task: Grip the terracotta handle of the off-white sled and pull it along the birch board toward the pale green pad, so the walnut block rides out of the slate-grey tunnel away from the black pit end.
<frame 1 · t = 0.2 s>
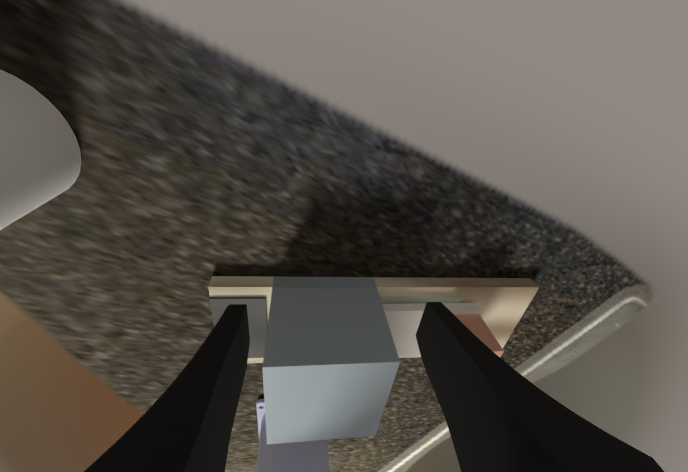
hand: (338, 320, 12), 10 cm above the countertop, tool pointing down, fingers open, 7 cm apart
tunnel: (321, 316, 26), resting on board
cylindrical container: (5, 136, 16), on the countertop
board: (376, 315, 27), on the countertop
sled: (381, 355, 23), point 4 cm above the countertop, slide at 0.0 cm
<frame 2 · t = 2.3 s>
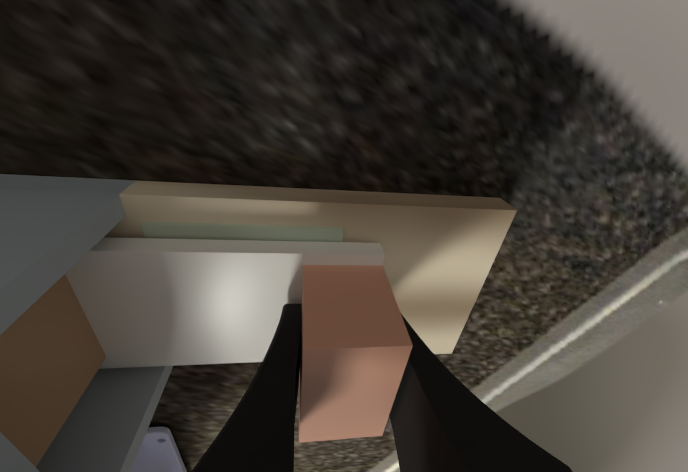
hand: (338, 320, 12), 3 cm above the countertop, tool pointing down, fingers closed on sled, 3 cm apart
tunnel: (60, 277, 12), resting on board
board: (187, 277, 13), on the countertop
sled: (129, 359, 10), point 4 cm above the countertop, slide at 0.0 cm, touching gripper
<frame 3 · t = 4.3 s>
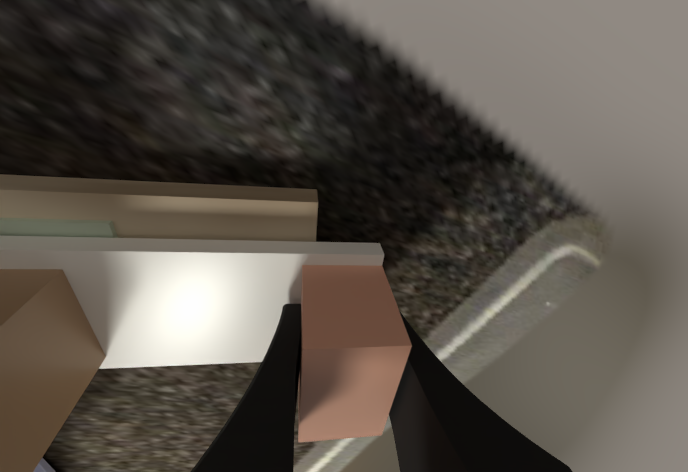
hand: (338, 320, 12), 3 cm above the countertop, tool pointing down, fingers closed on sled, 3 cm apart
sled: (129, 359, 10), point 4 cm above the countertop, slide at 8.0 cm, touching gripper
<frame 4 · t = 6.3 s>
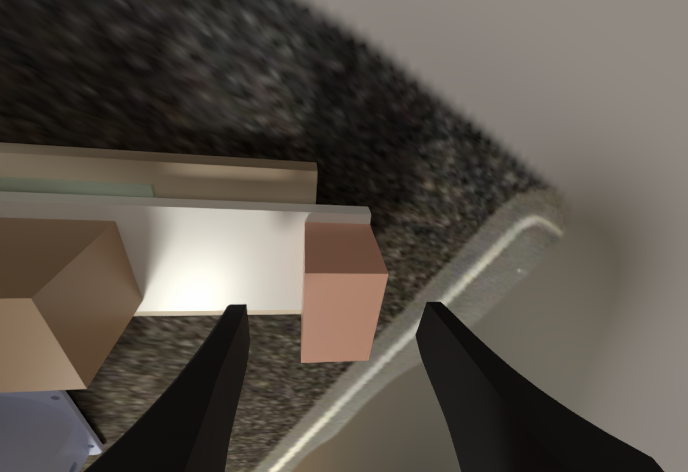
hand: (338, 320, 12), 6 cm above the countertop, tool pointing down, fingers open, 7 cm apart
board: (36, 234, 15), on the countertop
sled: (168, 292, 12), point 4 cm above the countertop, slide at 8.0 cm
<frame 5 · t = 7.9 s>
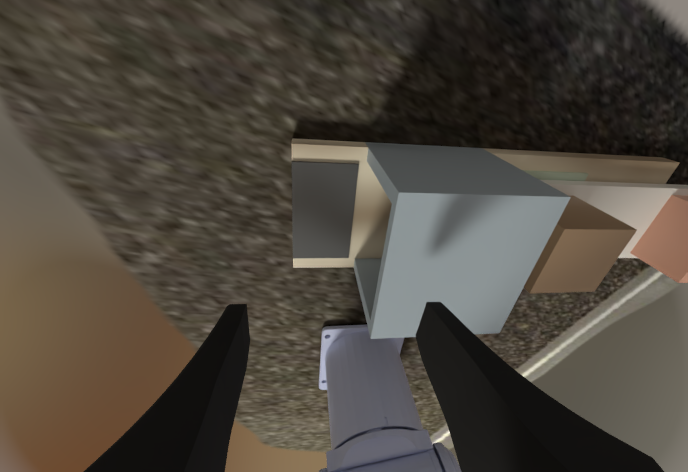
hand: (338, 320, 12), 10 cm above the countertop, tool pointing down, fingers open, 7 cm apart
tunnel: (411, 207, 22), resting on board
board: (474, 208, 22), on the countertop
sled: (608, 238, 20), point 4 cm above the countertop, slide at 8.0 cm
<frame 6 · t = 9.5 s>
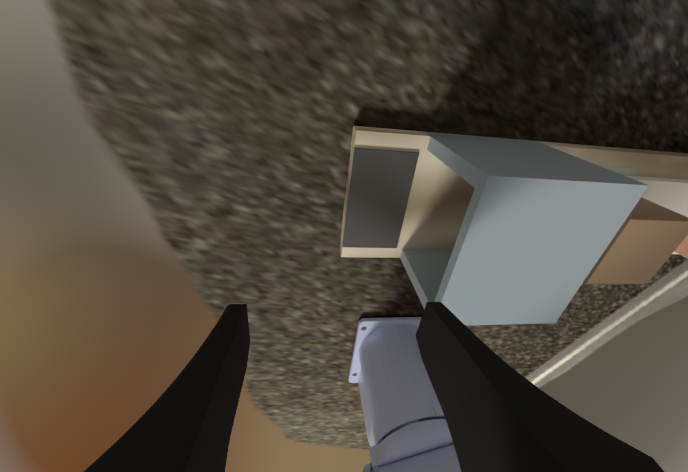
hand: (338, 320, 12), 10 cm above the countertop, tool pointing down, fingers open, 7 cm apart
tunnel: (459, 199, 22), resting on board
board: (520, 201, 22), on the countertop
sled: (657, 232, 20), point 4 cm above the countertop, slide at 8.0 cm
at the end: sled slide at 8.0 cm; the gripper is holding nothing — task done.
